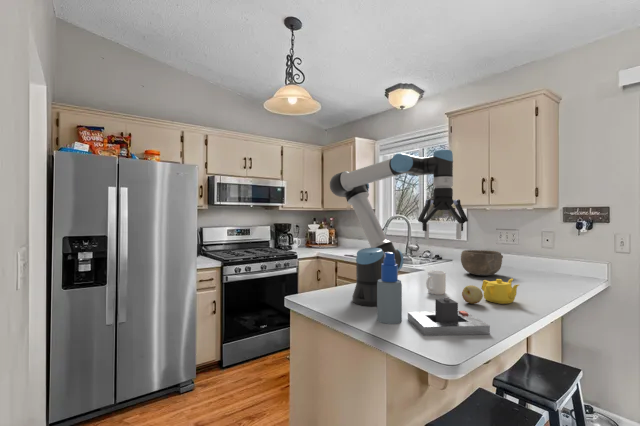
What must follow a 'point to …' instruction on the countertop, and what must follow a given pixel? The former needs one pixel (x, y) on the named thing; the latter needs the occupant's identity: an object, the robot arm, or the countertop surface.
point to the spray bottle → (389, 292)
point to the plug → (446, 310)
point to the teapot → (499, 291)
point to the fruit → (472, 294)
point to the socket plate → (448, 324)
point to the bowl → (481, 261)
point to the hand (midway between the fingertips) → (442, 239)
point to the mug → (436, 282)
